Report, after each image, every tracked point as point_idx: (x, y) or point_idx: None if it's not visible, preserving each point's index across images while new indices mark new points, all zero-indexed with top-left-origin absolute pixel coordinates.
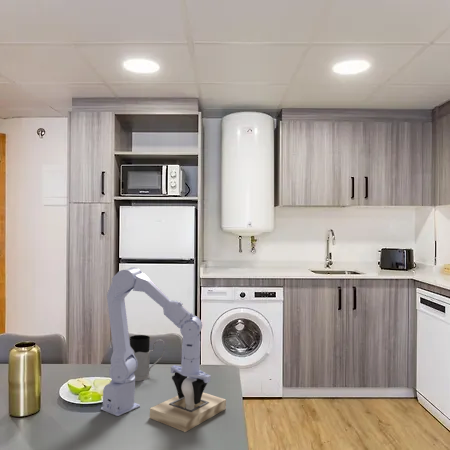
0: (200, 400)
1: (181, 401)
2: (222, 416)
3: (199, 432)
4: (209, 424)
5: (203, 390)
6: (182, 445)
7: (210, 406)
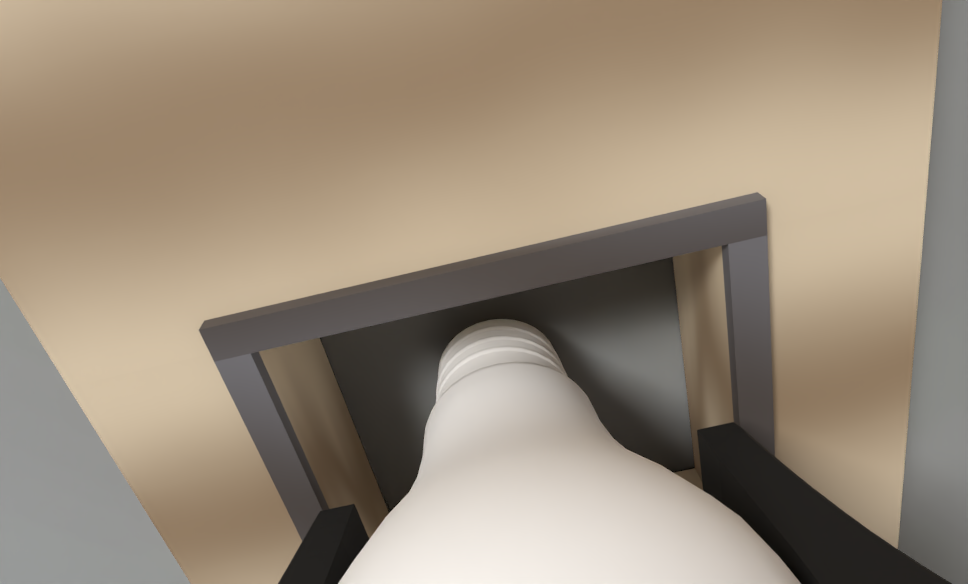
0: (755, 441)
1: (321, 460)
2: (952, 50)
3: (941, 521)
4: (929, 352)
5: (934, 580)
6: None
7: (883, 271)
